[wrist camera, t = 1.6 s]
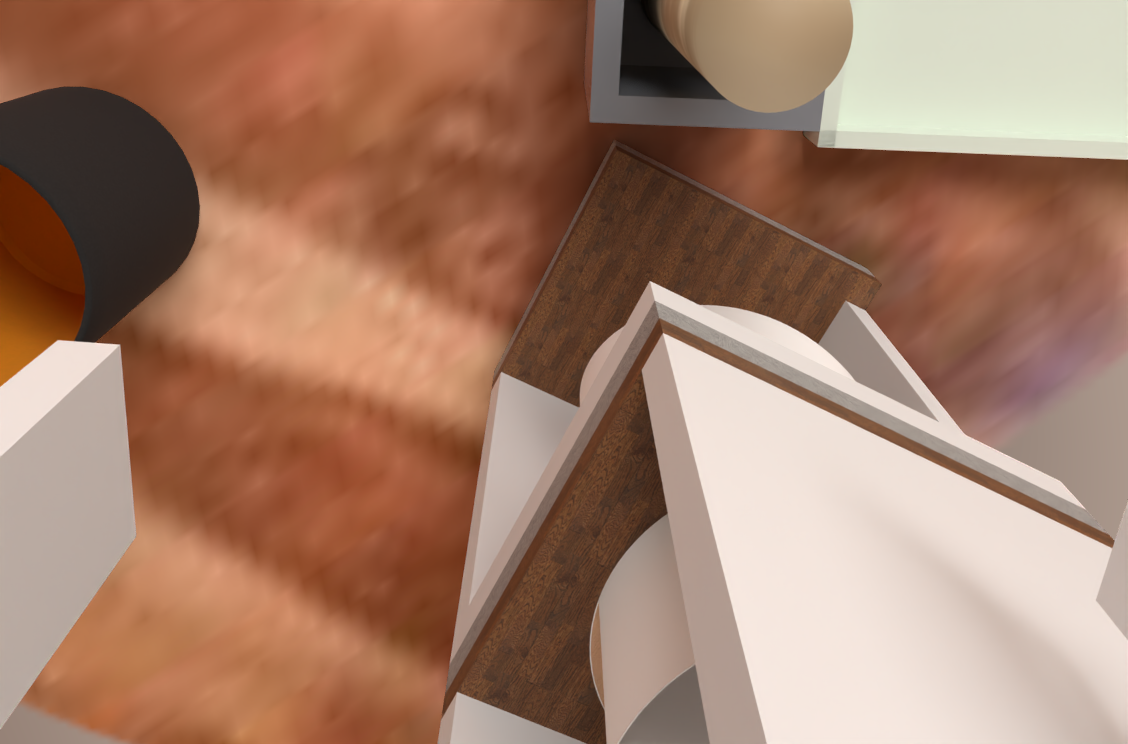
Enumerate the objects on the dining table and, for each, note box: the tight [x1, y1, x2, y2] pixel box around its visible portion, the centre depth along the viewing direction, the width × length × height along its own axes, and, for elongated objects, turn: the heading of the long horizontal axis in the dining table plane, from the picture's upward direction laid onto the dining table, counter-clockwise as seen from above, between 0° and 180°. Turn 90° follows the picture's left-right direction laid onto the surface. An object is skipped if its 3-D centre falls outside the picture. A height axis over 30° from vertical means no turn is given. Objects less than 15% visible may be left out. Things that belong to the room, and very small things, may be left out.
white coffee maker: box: [438, 140, 1128, 744], centre depth 27 cm, size 11×11×35 cm
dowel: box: [641, 0, 853, 113], centre depth 30 cm, size 3×3×17 cm
